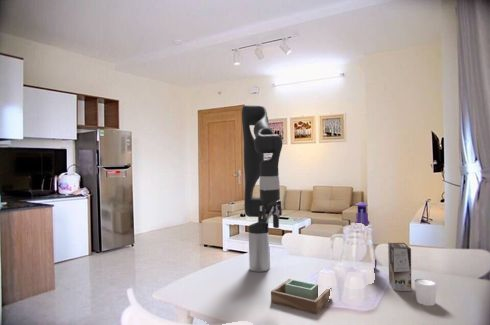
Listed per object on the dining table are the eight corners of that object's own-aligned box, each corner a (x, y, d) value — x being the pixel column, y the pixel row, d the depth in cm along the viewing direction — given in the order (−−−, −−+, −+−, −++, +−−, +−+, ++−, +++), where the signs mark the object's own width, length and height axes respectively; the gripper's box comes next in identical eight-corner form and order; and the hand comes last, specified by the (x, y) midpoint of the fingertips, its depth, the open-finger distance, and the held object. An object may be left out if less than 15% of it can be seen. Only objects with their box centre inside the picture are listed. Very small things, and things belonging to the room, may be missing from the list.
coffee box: (412, 291, 124) (411, 248, 124) (393, 290, 125) (393, 248, 125) (405, 282, 133) (404, 242, 132) (388, 281, 134) (387, 241, 134)
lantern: (350, 262, 160) (348, 199, 159) (376, 264, 156) (374, 200, 155) (349, 271, 147) (347, 203, 147) (377, 273, 143) (375, 204, 143)
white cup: (410, 298, 118) (410, 278, 118) (429, 297, 119) (428, 277, 119) (422, 307, 111) (422, 286, 111) (442, 305, 112) (441, 285, 112)
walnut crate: (289, 289, 129) (289, 278, 129) (331, 298, 120) (331, 287, 120) (271, 302, 118) (270, 291, 118) (316, 314, 108) (316, 302, 108)
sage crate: (292, 292, 124) (292, 279, 124) (317, 298, 118) (317, 284, 118) (285, 297, 120) (285, 284, 119) (311, 304, 114) (311, 289, 114)
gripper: (269, 185, 133) (271, 225, 134) (251, 189, 122) (252, 233, 122) (286, 185, 129) (288, 227, 130) (269, 190, 117) (270, 236, 118)
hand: (270, 230), depth 126 cm, fingers open, 8 cm apart
